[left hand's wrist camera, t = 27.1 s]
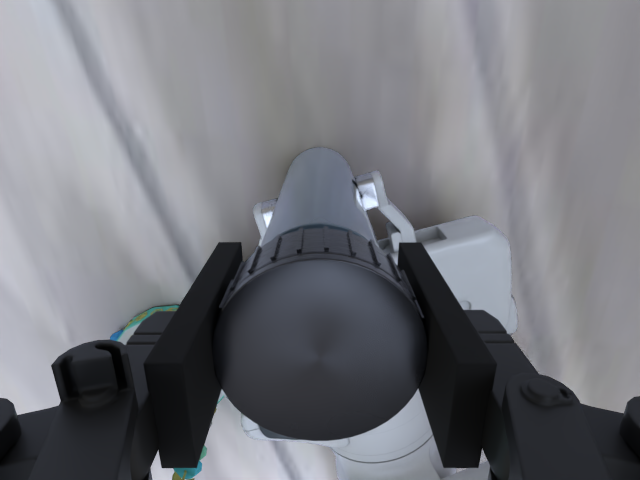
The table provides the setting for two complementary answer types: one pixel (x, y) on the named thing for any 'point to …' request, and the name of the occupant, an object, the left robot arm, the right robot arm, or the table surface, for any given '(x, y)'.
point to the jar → (319, 197)
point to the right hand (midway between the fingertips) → (315, 189)
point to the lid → (319, 336)
